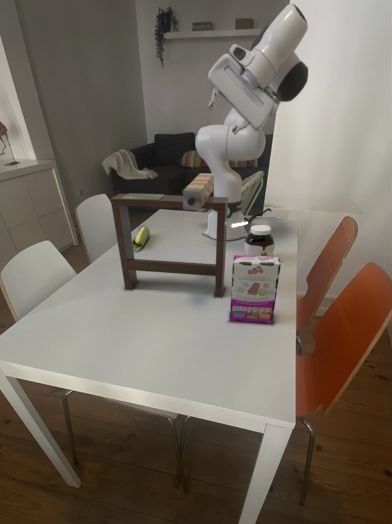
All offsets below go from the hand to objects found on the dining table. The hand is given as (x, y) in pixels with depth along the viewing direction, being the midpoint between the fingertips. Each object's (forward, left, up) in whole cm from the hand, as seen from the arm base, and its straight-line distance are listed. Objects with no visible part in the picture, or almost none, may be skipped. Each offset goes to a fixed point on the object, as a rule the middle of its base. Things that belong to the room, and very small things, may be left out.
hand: (221, 120), depth 92 cm
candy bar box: (+40, +14, -41) cm, 59 cm away
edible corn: (-10, -33, -41) cm, 54 cm away
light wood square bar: (+27, -2, -15) cm, 31 cm away
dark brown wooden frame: (+27, -10, -41) cm, 50 cm away
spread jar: (-1, +15, -41) cm, 44 cm away
